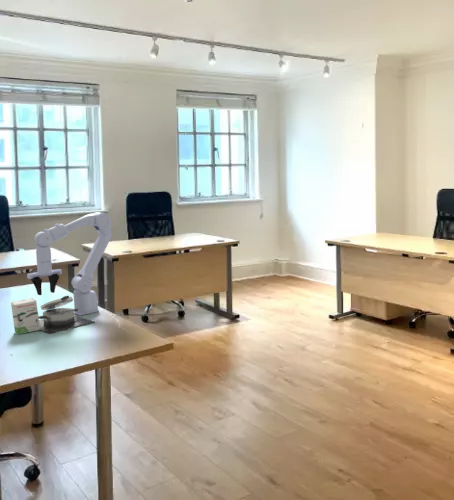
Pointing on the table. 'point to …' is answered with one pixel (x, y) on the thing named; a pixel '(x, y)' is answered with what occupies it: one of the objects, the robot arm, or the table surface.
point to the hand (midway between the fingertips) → (46, 293)
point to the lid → (57, 303)
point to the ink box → (25, 316)
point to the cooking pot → (61, 320)
